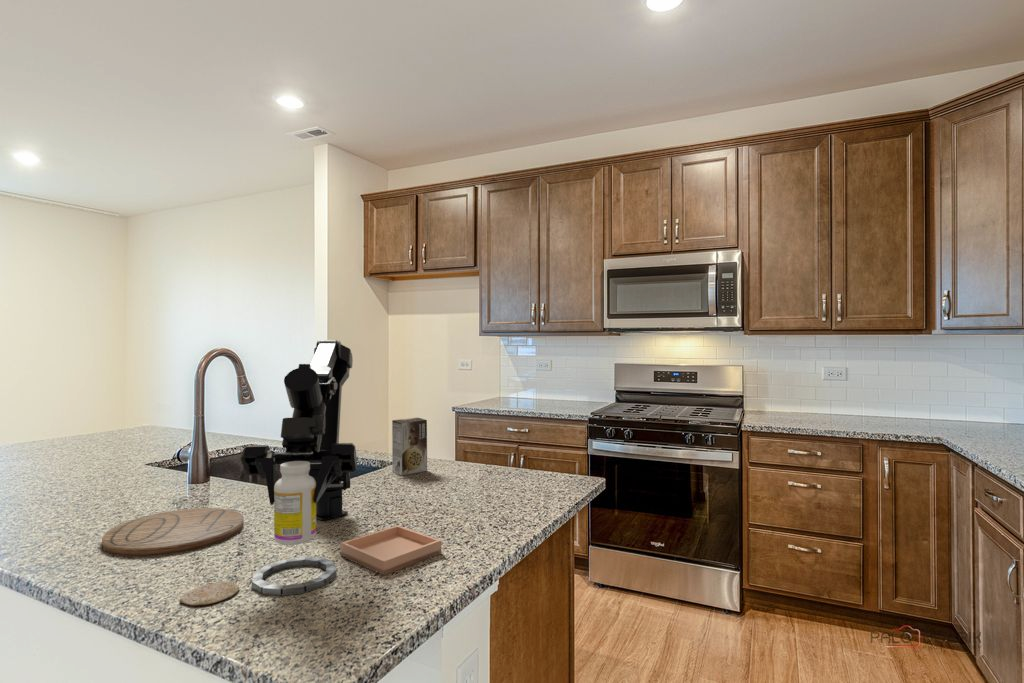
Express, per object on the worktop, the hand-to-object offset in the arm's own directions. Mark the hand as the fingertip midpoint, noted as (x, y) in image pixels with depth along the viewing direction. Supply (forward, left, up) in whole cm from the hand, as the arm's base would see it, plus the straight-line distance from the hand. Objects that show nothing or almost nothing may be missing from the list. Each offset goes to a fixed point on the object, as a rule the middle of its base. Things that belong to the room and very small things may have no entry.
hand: (293, 502), depth 92 cm
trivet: (-40, -4, -14) cm, 43 cm away
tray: (+3, +18, -13) cm, 22 cm away
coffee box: (-47, +63, -13) cm, 80 cm away
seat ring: (-1, +1, -13) cm, 13 cm away
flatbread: (-5, -11, -14) cm, 18 cm away
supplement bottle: (-1, +1, -7) cm, 7 cm away
